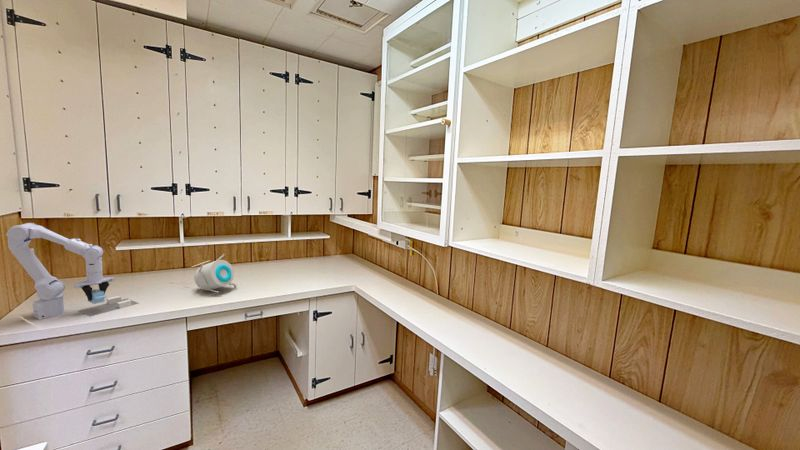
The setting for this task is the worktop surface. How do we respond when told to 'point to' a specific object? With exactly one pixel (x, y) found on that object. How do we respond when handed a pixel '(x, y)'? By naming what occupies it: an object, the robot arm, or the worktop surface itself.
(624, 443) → the worktop surface
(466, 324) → the worktop surface
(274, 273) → the worktop surface
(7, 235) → the robot arm
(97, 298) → the block
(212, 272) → the satellite
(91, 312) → the plate
